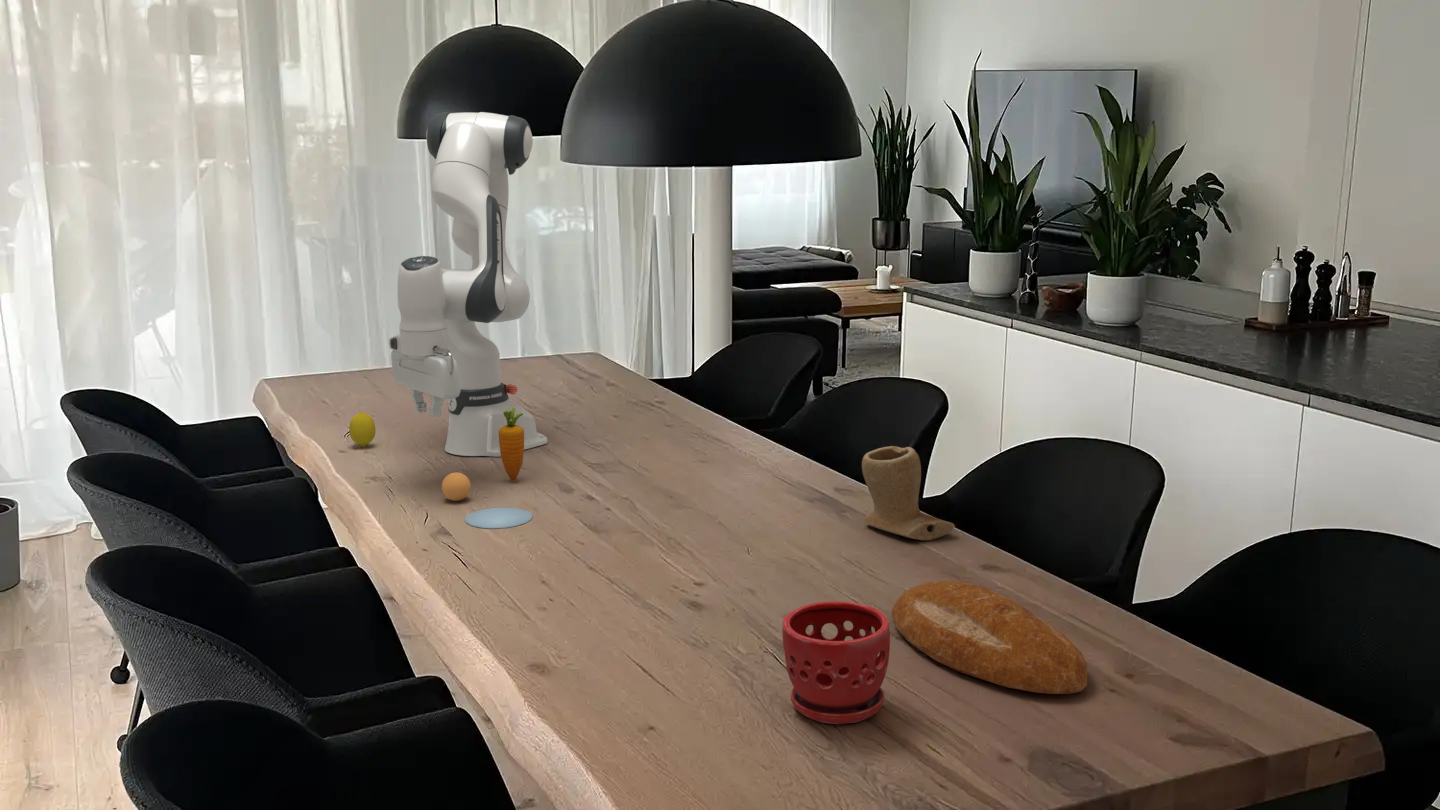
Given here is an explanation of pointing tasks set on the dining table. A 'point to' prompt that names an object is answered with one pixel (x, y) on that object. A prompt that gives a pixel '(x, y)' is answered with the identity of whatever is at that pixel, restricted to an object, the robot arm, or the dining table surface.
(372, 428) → the lemon
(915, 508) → the tan boot-shaped piece
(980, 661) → the bread
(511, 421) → the carrot
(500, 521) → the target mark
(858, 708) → the plant pot
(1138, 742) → the dining table surface
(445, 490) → the ball
